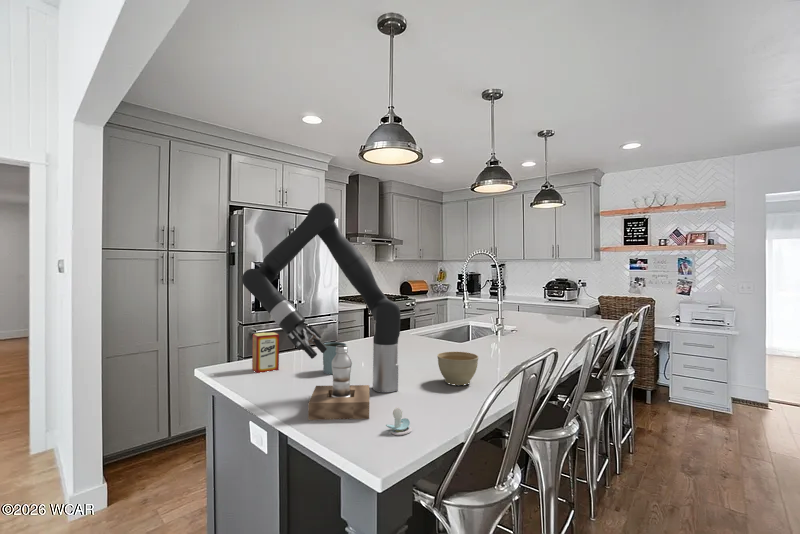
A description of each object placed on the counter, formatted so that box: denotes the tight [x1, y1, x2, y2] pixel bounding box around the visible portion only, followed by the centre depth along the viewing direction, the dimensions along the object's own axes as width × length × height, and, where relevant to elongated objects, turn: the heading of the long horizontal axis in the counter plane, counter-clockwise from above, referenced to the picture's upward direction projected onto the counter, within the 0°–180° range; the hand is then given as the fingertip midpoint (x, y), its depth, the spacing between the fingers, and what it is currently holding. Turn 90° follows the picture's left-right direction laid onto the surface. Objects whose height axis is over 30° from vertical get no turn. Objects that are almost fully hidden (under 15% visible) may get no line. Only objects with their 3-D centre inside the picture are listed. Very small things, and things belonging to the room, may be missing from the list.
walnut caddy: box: [307, 384, 370, 421], centre depth 125 cm, size 18×17×5 cm
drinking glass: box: [322, 341, 347, 375], centre depth 169 cm, size 10×10×12 cm
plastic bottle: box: [331, 345, 353, 397], centre depth 125 cm, size 6×7×20 cm
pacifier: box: [385, 407, 413, 436], centre depth 109 cm, size 7×6×6 cm
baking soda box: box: [251, 331, 280, 374], centre depth 171 cm, size 10×6×16 cm
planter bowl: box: [437, 351, 479, 386], centre depth 155 cm, size 16×16×11 cm
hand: (320, 353), depth 126 cm, fingers open, 8 cm apart
